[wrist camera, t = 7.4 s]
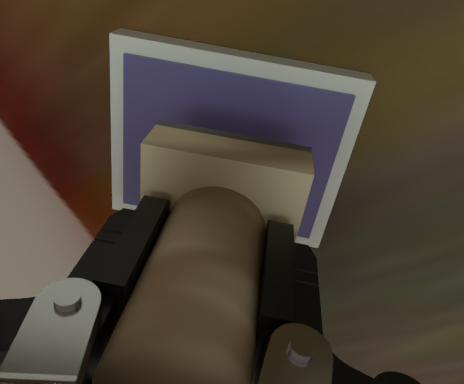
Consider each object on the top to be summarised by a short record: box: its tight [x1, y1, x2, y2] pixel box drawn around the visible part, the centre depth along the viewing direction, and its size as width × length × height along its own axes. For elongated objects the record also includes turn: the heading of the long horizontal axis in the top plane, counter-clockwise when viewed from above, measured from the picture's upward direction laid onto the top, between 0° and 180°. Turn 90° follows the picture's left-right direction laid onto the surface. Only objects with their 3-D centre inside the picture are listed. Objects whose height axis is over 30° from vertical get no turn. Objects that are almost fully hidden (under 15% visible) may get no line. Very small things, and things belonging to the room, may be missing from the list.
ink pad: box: [109, 28, 376, 248], centre depth 17 cm, size 10×8×1 cm
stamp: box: [92, 120, 314, 384], centre depth 10 cm, size 5×5×7 cm
